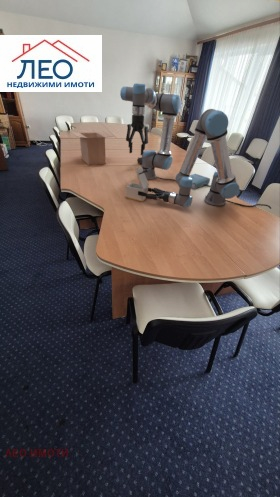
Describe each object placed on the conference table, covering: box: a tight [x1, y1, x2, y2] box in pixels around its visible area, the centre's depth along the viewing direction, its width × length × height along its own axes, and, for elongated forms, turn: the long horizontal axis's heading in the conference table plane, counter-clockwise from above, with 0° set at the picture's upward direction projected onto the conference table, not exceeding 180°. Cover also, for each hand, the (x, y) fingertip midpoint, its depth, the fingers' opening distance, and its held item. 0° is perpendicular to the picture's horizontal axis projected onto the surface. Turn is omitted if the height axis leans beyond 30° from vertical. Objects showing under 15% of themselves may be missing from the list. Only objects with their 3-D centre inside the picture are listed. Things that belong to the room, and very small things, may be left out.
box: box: [70, 129, 114, 166], centre depth 229 cm, size 44×36×27 cm
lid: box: [135, 166, 152, 190], centre depth 155 cm, size 14×10×8 cm
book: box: [189, 173, 211, 190], centre depth 197 cm, size 23×16×5 cm
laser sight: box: [136, 155, 143, 165], centre depth 236 cm, size 10×22×10 cm, turn 78°
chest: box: [125, 181, 149, 203], centre depth 165 cm, size 14×10×9 cm
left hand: (136, 153), depth 149 cm, fingers open, 8 cm apart
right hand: (141, 190), depth 163 cm, fingers closed on chest, 9 cm apart
